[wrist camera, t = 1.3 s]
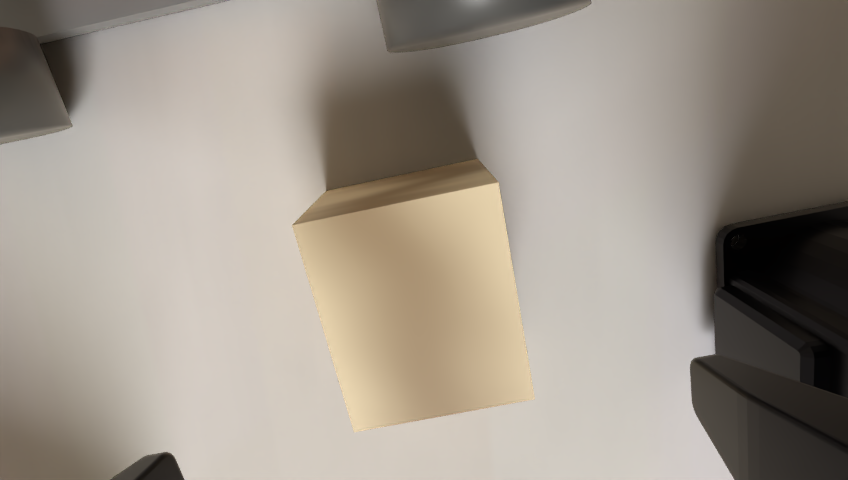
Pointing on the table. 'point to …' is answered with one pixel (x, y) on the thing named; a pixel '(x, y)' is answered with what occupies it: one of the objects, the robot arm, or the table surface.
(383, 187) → the tan wooden block
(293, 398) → the table surface
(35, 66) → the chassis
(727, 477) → the table surface
